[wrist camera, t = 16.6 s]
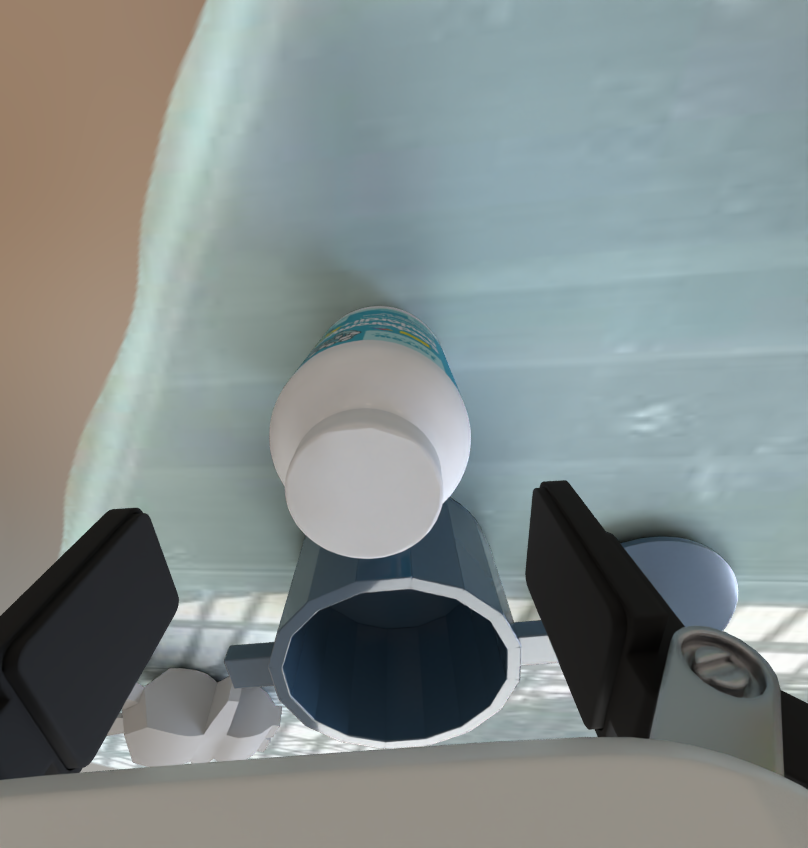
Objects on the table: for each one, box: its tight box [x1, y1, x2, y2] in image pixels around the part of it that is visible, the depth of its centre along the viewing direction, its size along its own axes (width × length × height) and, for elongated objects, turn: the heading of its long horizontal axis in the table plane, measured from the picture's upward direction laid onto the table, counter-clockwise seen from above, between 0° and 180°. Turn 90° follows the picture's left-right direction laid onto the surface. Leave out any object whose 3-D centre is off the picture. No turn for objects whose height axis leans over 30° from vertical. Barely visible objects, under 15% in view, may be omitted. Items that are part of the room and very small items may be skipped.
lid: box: [621, 536, 738, 631], centre depth 30 cm, size 14×14×6 cm
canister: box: [224, 497, 558, 749], centre depth 27 cm, size 14×19×8 cm
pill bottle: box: [269, 306, 471, 559], centre depth 18 cm, size 8×7×14 cm
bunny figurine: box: [107, 668, 282, 767], centre depth 33 cm, size 10×5×15 cm
